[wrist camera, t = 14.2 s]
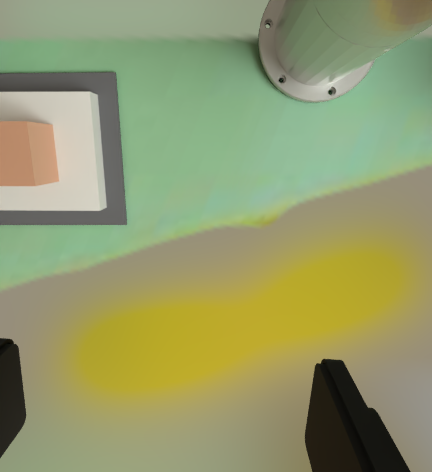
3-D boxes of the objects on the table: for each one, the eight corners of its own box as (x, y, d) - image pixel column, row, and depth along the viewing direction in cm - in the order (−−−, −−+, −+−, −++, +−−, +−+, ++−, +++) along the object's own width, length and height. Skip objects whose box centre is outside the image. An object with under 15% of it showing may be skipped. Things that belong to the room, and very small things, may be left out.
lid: (97, 94, 38) (68, 82, 31) (106, 207, 41) (82, 219, 34) (-15, 95, 38) (-69, 83, 31) (3, 207, 41) (-43, 219, 34)
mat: (116, 73, 38) (114, 72, 37) (126, 224, 42) (126, 224, 41) (-36, 74, 38) (-39, 73, 38) (-10, 224, 42) (-12, 224, 42)
